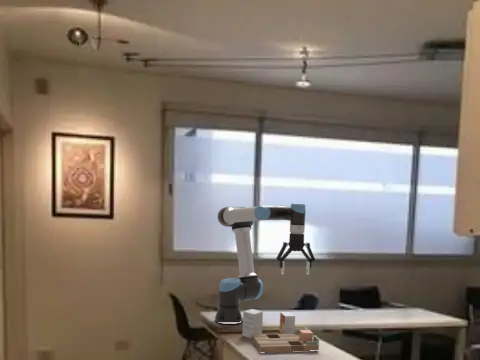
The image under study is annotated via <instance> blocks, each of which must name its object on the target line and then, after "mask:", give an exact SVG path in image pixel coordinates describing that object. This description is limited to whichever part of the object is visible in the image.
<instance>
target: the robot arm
mask: <svg viewBox="0 0 480 360" xmlns="http://www.w3.org/2000/svg"><path fill="white" fill-rule="evenodd" d="M217 220H218V223H220V225H222V226H223V227H227V228H231V230H232V232H233V233H234V237H235V245H236V253H237V263H238V268H239V269H238V271H239V274H238V275H237V277H228V278H224V279H221V281H220V282H219V288H218V289H219V290H218V291H219V292H218V293H219V295H218V308H217V311H216V313H215V317H214V322H215V321H216V322H215V323H217V322H240V321H242V322H243V315H242V312H241V309H240V304H241V302H245V301H253V300H257V299H259V298H260V297H261V296H262V294H263V291H264V283H263V281H262V280H261V279H260V278H258V274H257V273H255V267H254V266H255V265H254V257H253V249H252V241H251V234H250V232H251V230H252V226H253V225H254V223H255V222H256V221H257V222H258V221H288V222H289V221H290V222H289V232H290V233H289V239H288V242H286V241H283V242H282V246H281V249H280V251H278V254H277V256H276V257H275V259H276V261H278V262H279V268H280V274H281V275H283V276H284V275H285V260H286V258H287V257H288V256H289V255H290V254H291V253H292V252H301V253H302V254H303V256H304V257H305V259H307V260H306V266H305V267H306V268H305V269H306V270H305V274H306V275H308V276H310V269H312V263H313V262H315V261H316V258H315V256H314V253H313V251H312V248H311V244H310V243H309V242H305V234H304V233H305V227H306V223H305V221H306V204H305V203H301V202H292V203H290V205H283V204H280V205H279V204H278V205H263V204H262V205H257V206H249V207H247V206H246V207H245V206H226V207H222V208H221V209H219V211H218V214H217ZM288 246H289V248H288V249H287V247H288ZM304 247H305V248H306V250H307V251H306V250H305V248H304ZM286 249H287V250H286ZM285 250H286V252H285ZM307 252H308V254H309V255H308V254H307Z"/></svg>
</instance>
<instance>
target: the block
mask: <svg viewBox="0 0 480 360" xmlns="http://www.w3.org/2000/svg"><path fill="white" fill-rule="evenodd" d="M298 331H299V338H300V339H301V340H302V341H313V335H314V332H312V331H311V329H308V330H304V329H300V330H298Z"/></svg>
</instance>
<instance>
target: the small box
mask: <svg viewBox="0 0 480 360" xmlns="http://www.w3.org/2000/svg"><path fill="white" fill-rule="evenodd" d="M279 313H280V314H279V330H278V331H279V334H294V331H296V329H295V328H296V327H295V326H296V316H295V315H294V314H293V313H292V312H289V311H285V312H283V311H282V312H279Z"/></svg>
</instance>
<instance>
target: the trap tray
mask: <svg viewBox="0 0 480 360" xmlns="http://www.w3.org/2000/svg"><path fill="white" fill-rule="evenodd" d="M303 330H309V329H308V328H307V327H304V328H303ZM299 331H300V330H294V334H281V333H267V334H266V333H262V334H253V335H252V339H251V342H252V344H253V345H254V346H255V348H256V349H257V350H258V351H259V353H260V352H285V353H296V352H295V351H310V350H319V349H320V338H319V337H318V336H317V335H316V334H315V335H314V334H313V341H302V340H301V339H300V338H299ZM293 351H294V352H293Z"/></svg>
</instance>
